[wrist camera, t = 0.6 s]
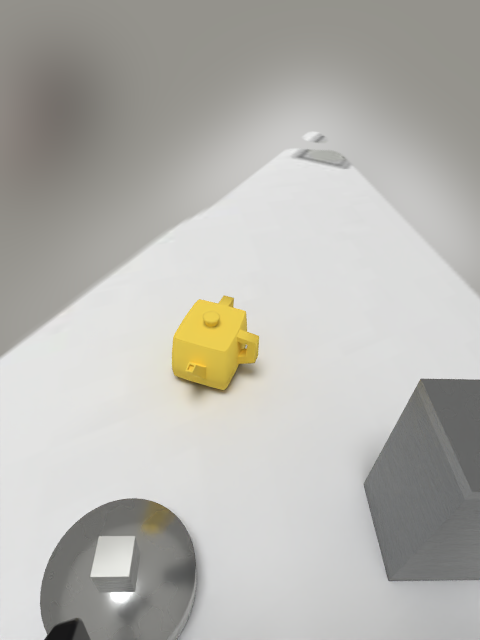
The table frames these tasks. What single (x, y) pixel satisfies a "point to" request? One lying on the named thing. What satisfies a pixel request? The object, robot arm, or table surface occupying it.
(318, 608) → the table surface
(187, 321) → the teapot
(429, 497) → the brushed steel square block
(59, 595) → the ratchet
